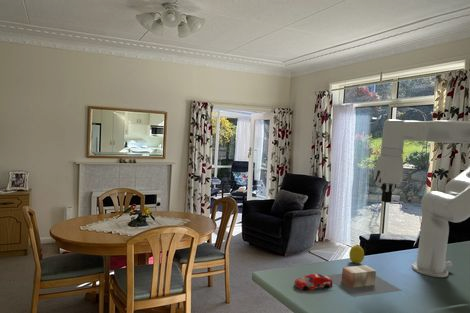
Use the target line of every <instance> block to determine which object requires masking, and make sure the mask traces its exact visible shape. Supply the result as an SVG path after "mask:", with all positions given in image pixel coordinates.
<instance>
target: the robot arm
mask: <svg viewBox="0 0 470 313" xmlns="http://www.w3.org/2000/svg"><path fill="white" fill-rule="evenodd" d="M382 129H383V130H382V137H381V146H380V147H381V148H380V155H378V156H377V160H376V162H375V166H374V173H373V182H375V186H377V187H379V188H380V191H381V202H382V203H383V202H385V203H392V196H393V193H394V191H395V189H396V188H400V187H401V184H402V182H403V178H404V158H403V155H404V153H405V152H404V144H405V141H409V142H422V141H424V142H431V143H439V144H440V143H443V144H447V143H448V144H470V121H468V120H467V121H466V120H447V119H446V120H429V121H428V120H427V121H422V120H402V119H386V120H384V123H383V128H382ZM420 201H421V202H420V208H421V223H420V224H421V225H420V231H419V232H420V234H419V242H418V247H417V248H418V250H417V259H416V261H415V262H414V263H412V264H411V268H412V270H414V271H415V272H417V273H420V274H422V275H425V276H428V277H434V278H446V277H448V276H449V271H448V270H447V267H452V266H453V263H452V261H450V260H448V261H446V257H447V248H448V241H449V233H450V225H449V222H452V223H461V222H463V221H466V220H467V219H469V218H470V164H469V165H468V166H467V167H466V169H464V170H463V171H462V172H460V173H459V174H458V175H456V176H455V177H453V178H451V179H450V180H449V181H448V182H447V183H446V185H445V186H444V192H442V191H439V190H438V191H437V190H432V191H428V192H426V193H424V194H423V196H422V198H421V200H420Z"/></svg>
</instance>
